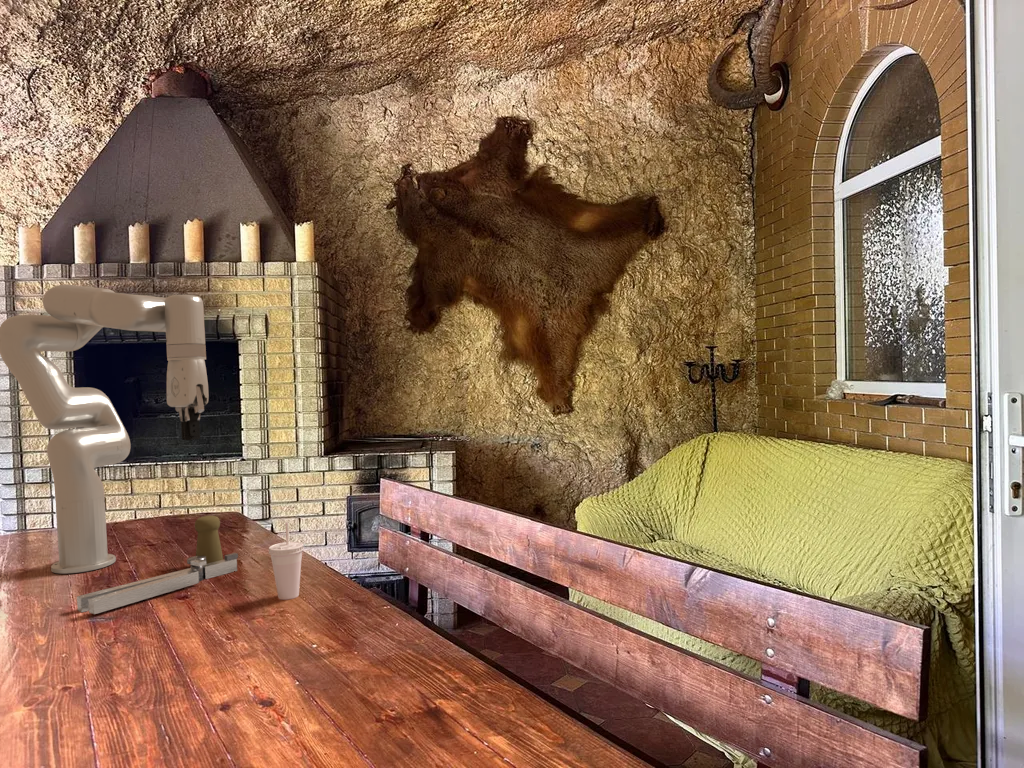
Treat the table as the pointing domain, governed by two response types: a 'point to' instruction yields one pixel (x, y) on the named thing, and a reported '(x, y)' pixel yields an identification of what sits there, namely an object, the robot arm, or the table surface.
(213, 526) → the olive pepper mill
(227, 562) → the tongs fixed
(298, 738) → the table surface
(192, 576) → the tongs jaw
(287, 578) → the smoothie
